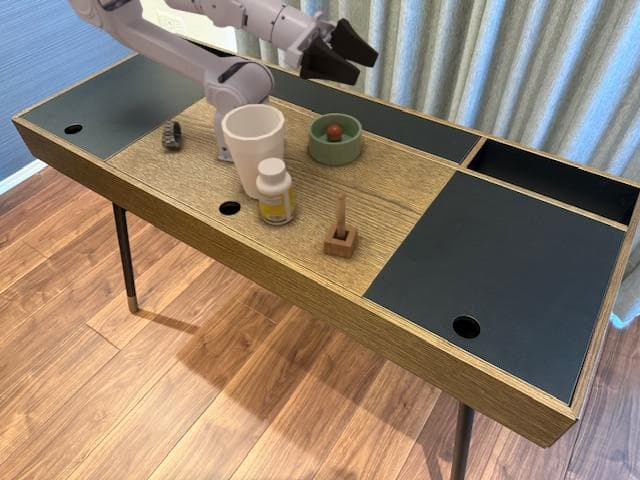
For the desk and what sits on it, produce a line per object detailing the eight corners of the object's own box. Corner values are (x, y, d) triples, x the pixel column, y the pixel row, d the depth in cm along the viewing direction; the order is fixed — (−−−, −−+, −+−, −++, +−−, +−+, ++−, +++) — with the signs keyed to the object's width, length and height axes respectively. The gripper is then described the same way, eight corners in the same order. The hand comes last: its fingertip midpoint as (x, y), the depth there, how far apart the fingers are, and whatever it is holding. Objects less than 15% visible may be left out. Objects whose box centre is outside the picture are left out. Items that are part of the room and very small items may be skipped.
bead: (324, 143, 89) (324, 129, 87) (329, 133, 91) (328, 120, 89) (340, 145, 88) (340, 131, 86) (344, 136, 90) (344, 122, 88)
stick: (336, 247, 72) (335, 195, 65) (338, 242, 73) (338, 189, 65) (343, 249, 72) (344, 197, 64) (345, 243, 73) (346, 191, 65)
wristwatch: (169, 150, 92) (159, 145, 87) (173, 123, 92) (164, 117, 87) (185, 152, 92) (176, 147, 87) (189, 126, 92) (180, 119, 87)
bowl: (302, 160, 87) (301, 139, 83) (318, 130, 93) (317, 110, 89) (353, 169, 85) (354, 148, 81) (366, 138, 91) (367, 117, 87)
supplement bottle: (281, 197, 80) (275, 149, 73) (302, 214, 77) (298, 166, 70) (254, 213, 78) (246, 165, 71) (275, 231, 75) (268, 183, 68)
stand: (324, 252, 72) (323, 241, 70) (332, 233, 74) (331, 222, 72) (350, 258, 71) (350, 247, 69) (357, 239, 73) (357, 227, 72)
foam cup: (282, 209, 78) (274, 143, 69) (227, 202, 80) (212, 136, 70) (296, 171, 84) (290, 106, 75) (245, 165, 86) (233, 101, 76)
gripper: (262, 9, 60) (358, 58, 59) (311, -14, 71) (393, 27, 69) (251, 61, 65) (340, 108, 64) (298, 33, 75) (375, 72, 74)
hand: (366, 69), depth 67 cm, fingers open, 7 cm apart
